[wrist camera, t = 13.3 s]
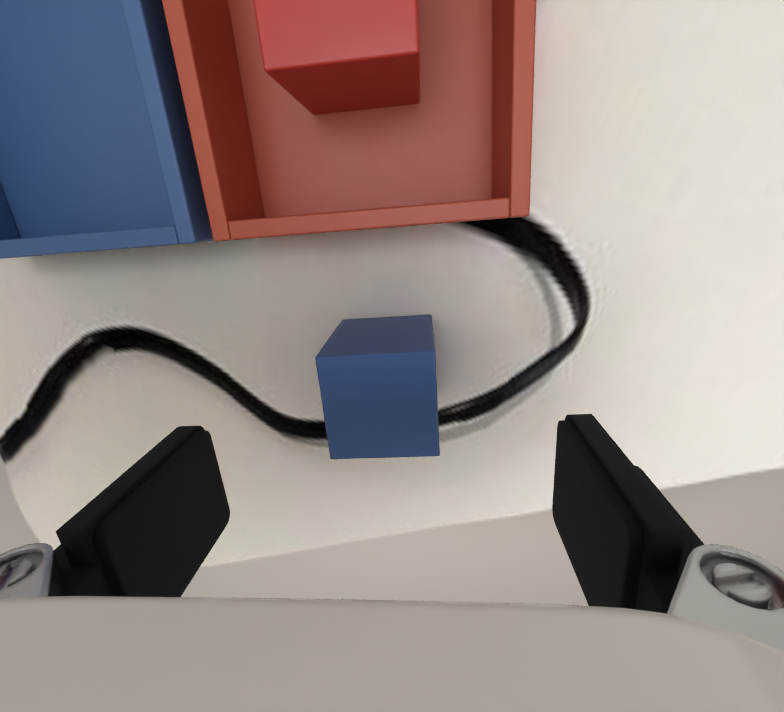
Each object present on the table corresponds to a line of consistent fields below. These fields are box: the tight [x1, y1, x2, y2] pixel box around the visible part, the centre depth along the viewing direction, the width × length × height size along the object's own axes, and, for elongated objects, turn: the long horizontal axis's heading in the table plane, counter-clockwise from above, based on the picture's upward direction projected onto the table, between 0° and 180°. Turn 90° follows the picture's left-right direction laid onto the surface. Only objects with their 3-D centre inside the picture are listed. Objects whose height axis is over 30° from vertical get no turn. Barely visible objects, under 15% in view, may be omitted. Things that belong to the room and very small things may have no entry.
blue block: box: [315, 315, 440, 459], centre depth 16 cm, size 4×4×5 cm
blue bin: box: [0, 0, 214, 259], centre depth 14 cm, size 10×12×4 cm
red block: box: [253, 0, 420, 115], centre depth 12 cm, size 4×4×5 cm
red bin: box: [162, 0, 536, 241], centre depth 13 cm, size 10×12×4 cm
